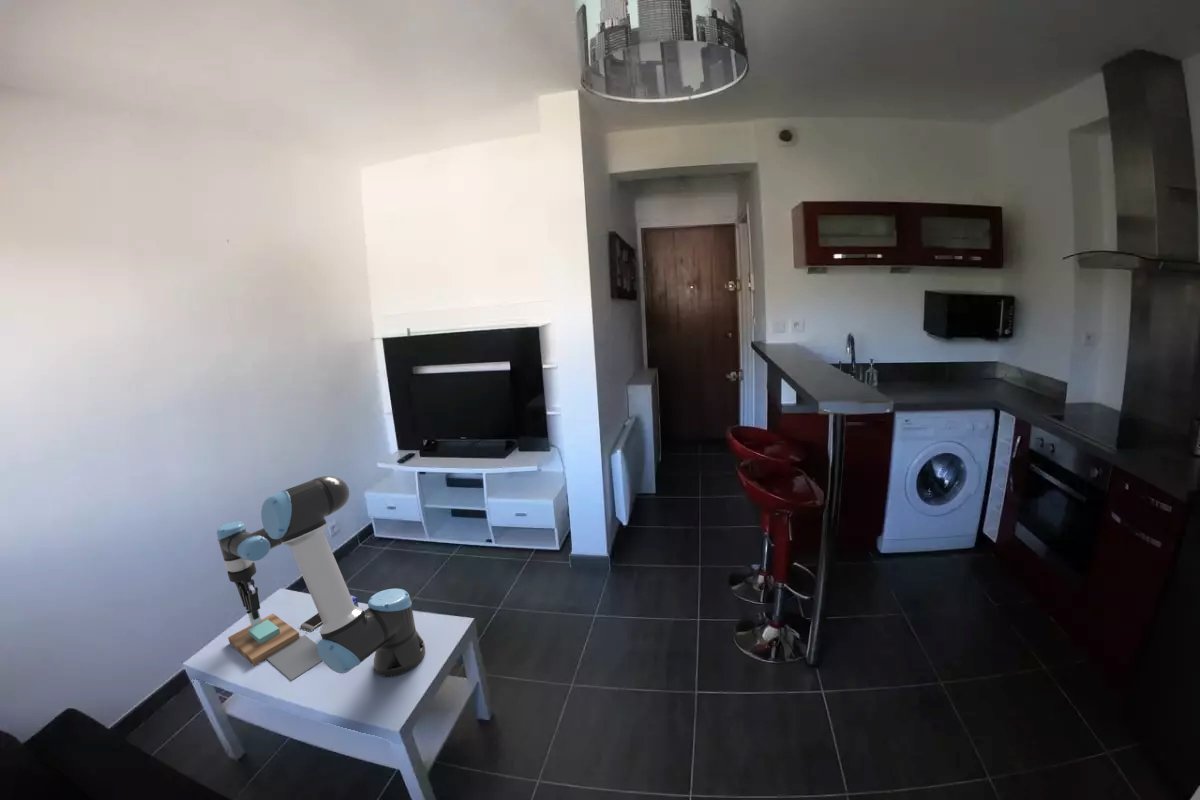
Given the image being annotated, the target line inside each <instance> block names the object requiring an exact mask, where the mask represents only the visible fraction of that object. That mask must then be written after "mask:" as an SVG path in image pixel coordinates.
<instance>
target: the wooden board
mask: <svg viewBox="0 0 1200 800" xmlns="http://www.w3.org/2000/svg"><path fill="white" fill-rule="evenodd" d="M266 620H269V621H270V622H272V623H273V624H274V625H276V626H277V627H278V628H279V630H280V634H278V635H276V636H274V637H273V638H271V639H269V640H267V641H266V642H264V643H262V644H260V643H259V642H257V641H256V640H255V639H254V638H253V637H252V636H250V635H249V631H248V630H249V629H251V628H252V627H251V624H250V625H249V626H247V627H245V628H243V629H241V630H239V631H237V632H235V633H234V634H231V635H229V636H228V637H227V639H228V643H229V644H230V646H231V647H232V648H234V649H235V650H236V651H237V652H239V654H240V655H241V656H243V658H245V660H247V661H248V662H249V663H250V664H251V665H252V666H253V667H255V666H256V665H258V664H260V663H261V662H262V663H263V661H265V660H267V659H266V658H267V657H268V656H270V655H272V654H273V653H275V652H277V651H279V650H280V649H282V648H284V647H285V646H287V645H289V644H290V643H292V642H294V641H295V640H297V639H299V638H300V632H299V631H298V630H296V629H295V628H294V627H292V626H291V625H290V624H288V623H287V622H285V620H283V619H281V618H280V617H279V616H278V615H276V614H274V613H271V614H270V615H268V616H266V617H264V618H261V621H262V622H264V621H266Z"/></svg>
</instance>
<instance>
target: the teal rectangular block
mask: <svg viewBox="0 0 1200 800" xmlns="http://www.w3.org/2000/svg"><path fill="white" fill-rule="evenodd" d="M248 631H249V635H250V636H252V637H253V638H254V639H255V640H256V641H257V642H259V643H260V644H262V643H264V642H266V641H267V640H269V639H271V638H273V637H274V636H276V635H278V634H280V630H279V628H278V627H277V626H276V625H274V624H273V623H272V622H270V621H269V620H266V621H264V622H262V623H260V624H258V625H256V626H255V627H253V628H251V629H249V630H248Z"/></svg>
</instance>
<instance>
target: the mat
mask: <svg viewBox="0 0 1200 800" xmlns="http://www.w3.org/2000/svg"><path fill="white" fill-rule="evenodd" d="M317 644H318V643H316V642H315V641H313V640H312V639H311V638H309V637H308V636H307V635H305V634H304V635H302V636H301V637H300V638H299V639H297V640H295V641H294V642H292V643H290V644H289V645H287V646H285V647H284V648H282V649H280V650H279V651H277V652H275V653H273V654H272V655H270V656H268V657H267V658H266V659H265V660H267V661H268V662H269V663H271V665H272V666H273V667H275V668H276V669H277V670H278V671H280V673H282V675H284V676H285V677H286V678H288V679H289V680H290V682H292V681H294V680H295V679H297V678H298V677H300V676H301V675H303V674H304V673H306V672H307V671H309V670H310V669H312V668H314V667H315V666H317V665H318V664H319V663H322V662H323V661H322V659H321V658H320V656H319V654H318V652H317Z"/></svg>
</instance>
